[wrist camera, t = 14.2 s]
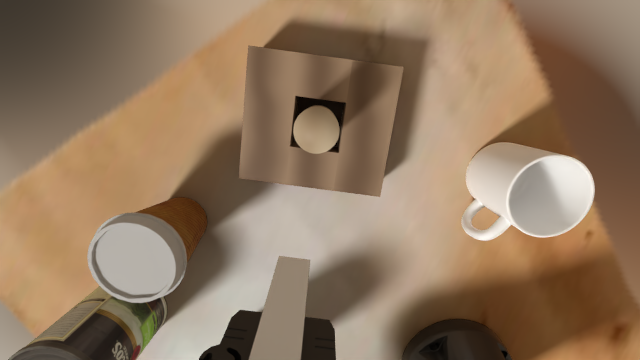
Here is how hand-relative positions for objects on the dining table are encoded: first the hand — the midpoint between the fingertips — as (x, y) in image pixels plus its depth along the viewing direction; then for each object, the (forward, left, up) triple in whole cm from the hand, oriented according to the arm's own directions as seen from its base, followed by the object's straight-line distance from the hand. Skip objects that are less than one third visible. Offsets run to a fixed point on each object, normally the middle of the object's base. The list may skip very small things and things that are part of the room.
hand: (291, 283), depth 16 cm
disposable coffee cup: (+16, +9, -27) cm, 32 cm away
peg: (0, -6, -26) cm, 27 cm away
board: (0, -6, -26) cm, 27 cm away
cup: (-22, -1, -27) cm, 35 cm away
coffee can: (+23, +23, -27) cm, 42 cm away
